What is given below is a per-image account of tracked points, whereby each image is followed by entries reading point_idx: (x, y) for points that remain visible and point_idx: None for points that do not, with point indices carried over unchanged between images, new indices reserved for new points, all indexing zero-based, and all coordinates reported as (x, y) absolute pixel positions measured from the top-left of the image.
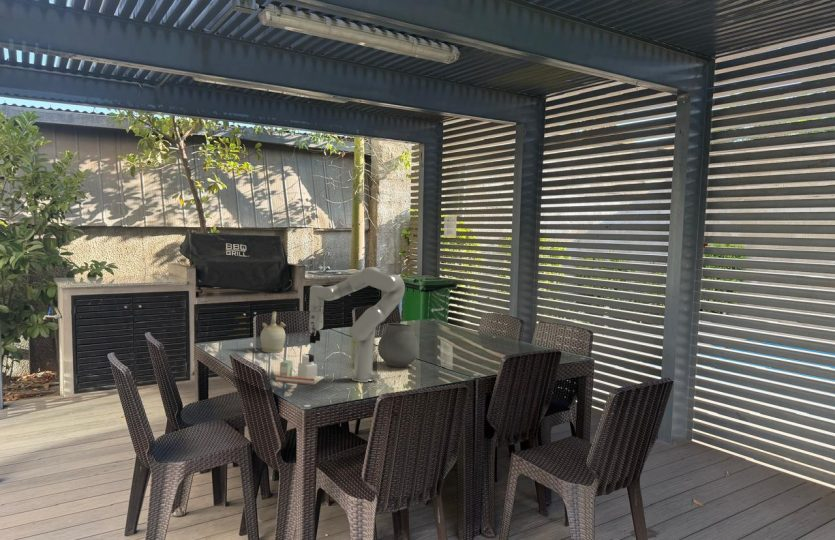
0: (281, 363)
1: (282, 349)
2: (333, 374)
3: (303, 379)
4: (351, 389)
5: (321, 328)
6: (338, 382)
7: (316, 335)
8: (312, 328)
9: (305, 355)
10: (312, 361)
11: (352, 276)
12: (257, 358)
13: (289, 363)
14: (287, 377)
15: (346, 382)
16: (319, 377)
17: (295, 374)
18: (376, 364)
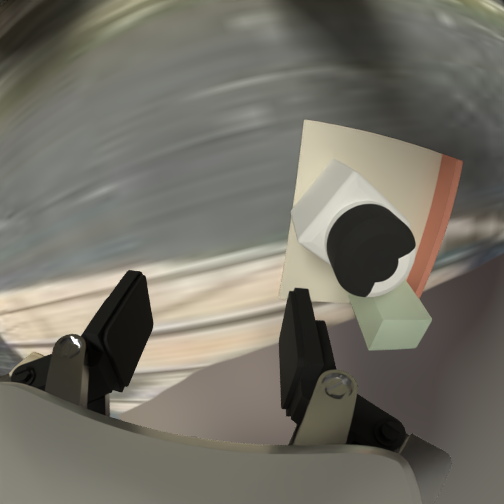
0: (417, 341)
1: (33, 355)
2: (224, 88)
3: (449, 207)
4: (454, 11)
5: (80, 418)
6: (381, 45)
7: (126, 353)
8: (423, 491)
9: (398, 277)
10: (388, 209)
11: None
12: (127, 395)
13: (412, 316)
14: (427, 275)
15: (368, 11)
16: (324, 144)
17: (292, 269)
18: (17, 22)
